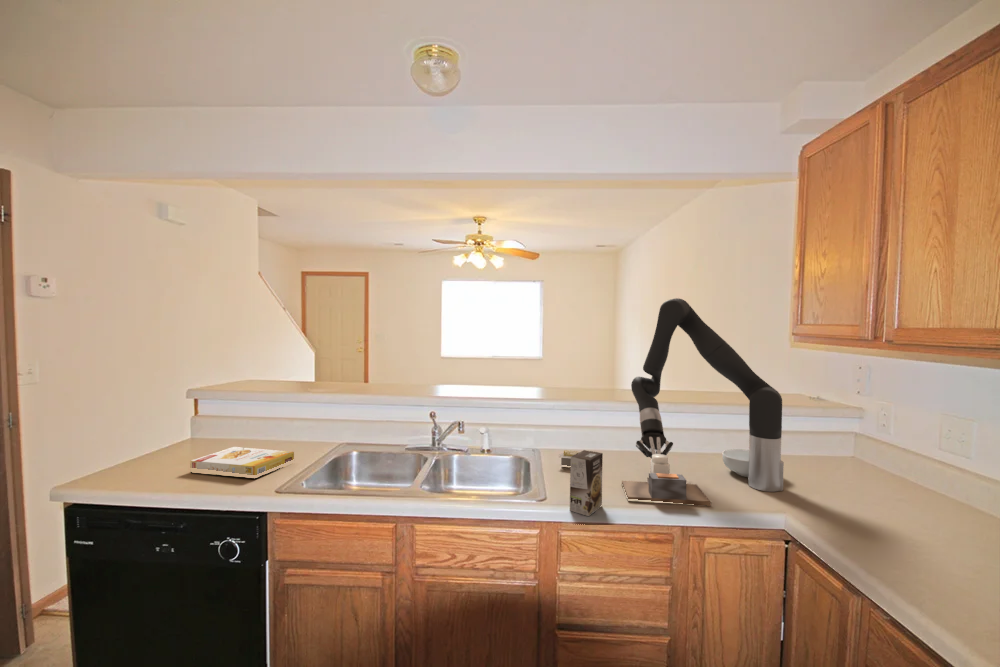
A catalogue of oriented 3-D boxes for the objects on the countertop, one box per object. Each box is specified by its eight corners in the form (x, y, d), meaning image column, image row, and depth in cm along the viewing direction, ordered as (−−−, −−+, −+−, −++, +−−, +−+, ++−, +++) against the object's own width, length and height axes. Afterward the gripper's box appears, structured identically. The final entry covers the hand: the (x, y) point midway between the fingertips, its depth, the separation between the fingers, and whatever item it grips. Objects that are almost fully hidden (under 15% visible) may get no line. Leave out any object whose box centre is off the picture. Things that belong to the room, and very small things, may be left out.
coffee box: (589, 516, 128) (589, 460, 127) (568, 511, 131) (569, 455, 131) (602, 506, 135) (603, 452, 134) (583, 501, 139) (583, 448, 138)
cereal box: (254, 465, 155) (188, 459, 161) (254, 481, 155) (188, 474, 161) (295, 450, 174) (234, 444, 181) (295, 464, 174) (234, 458, 181)
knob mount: (696, 488, 149) (696, 465, 149) (710, 506, 135) (710, 480, 135) (621, 485, 152) (622, 461, 152) (628, 501, 138) (628, 476, 138)
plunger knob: (665, 480, 152) (666, 454, 151) (669, 486, 147) (669, 458, 146) (650, 480, 152) (650, 453, 152) (653, 485, 147) (653, 458, 147)
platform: (552, 461, 179) (552, 445, 178) (598, 466, 173) (598, 449, 173) (545, 471, 167) (545, 453, 167) (594, 476, 161) (594, 458, 161)
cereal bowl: (761, 467, 172) (761, 449, 171) (784, 483, 155) (785, 462, 155) (714, 465, 173) (715, 447, 173) (732, 481, 157) (733, 461, 156)
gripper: (633, 417, 162) (638, 461, 151) (671, 418, 161) (680, 463, 149) (631, 428, 168) (636, 472, 156) (668, 429, 166) (676, 473, 154)
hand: (657, 467), depth 153 cm, fingers closed
